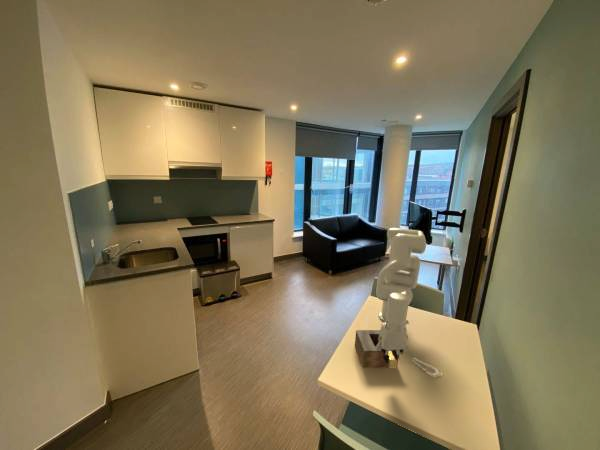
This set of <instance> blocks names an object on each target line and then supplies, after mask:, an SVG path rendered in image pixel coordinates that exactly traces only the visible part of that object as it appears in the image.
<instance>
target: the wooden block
mask: <svg viewBox="0 0 600 450" xmlns="http://www.w3.org/2000/svg"><path fill="white" fill-rule="evenodd" d="M388 355H389V359H388V364H387V365H388V366H389V367H388V368H389V369H397V368H398V366H397V359H396V358H395V357H394V355H393V354H392V352H391V351H389V353H388Z"/></svg>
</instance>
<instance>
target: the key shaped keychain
mask: <svg viewBox="0 0 600 450" xmlns="http://www.w3.org/2000/svg"><path fill="white" fill-rule="evenodd" d="M411 362H413V363H414V364H415V365H417V366H418V367H419V368H421V370H422V371H424V372H426V374H427V375H429V376H431V377H432V378H438V377H442V376H443V373H442V372H441V371H439V369H438V368H436V367H435V366H433V365H430V364H428V363H426V362H425V361H422V360H420V359H418V358H417V357H412V358H411ZM422 365H423V366H424V367H426V368H428V369H430V370H432V371H434V372H433V373H432V372H430V371H427V369H426V368H424V367H423V366H422Z"/></svg>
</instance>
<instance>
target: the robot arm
mask: <svg viewBox="0 0 600 450" xmlns="http://www.w3.org/2000/svg"><path fill="white" fill-rule="evenodd" d="M386 236H387V239H388V242H389V244H390V250H389V256H388V257H389V258H388V263H387V264H386V265H385V266H383V267H382V269H381V270H380V271H379V273H378V275H377V276H378V277H377V282H376V290H375V291H376V293H375V295H376V297H377V299H378V300H380V301H382V308H381V311H380V312H379V313H378V318H379V319H380V320H381V321H382V325H381V327H380V329H379V330H380V333H379V339H378V341H379V342H378V344H377V345H376V348H377V349H378V350H381V351H382V352H383V353H384V354H383V359H384V360H385V362H386V364H388V359H389V355H388V353H389V350H393V351H392V354H393V355H394V357H395V358H396V359H398V355H399V356H400V355H401V352H402V351H403V352H404V351H405V350H407V349H408V345H407V339H408V334H407V327H406V325H408V324H409V320H407V316H408V311H409V310H408V309H409V306H410V303H412V302H413V301H412V300H413V297H414V296H413V295H414V294H413V291H412V289H413V290H414V289H415V288H416V287H417V284H418V279H419V273H420V269H421V268H420V267H421V260H420V257H419V256H417V255H414V254H424V253H425V251H426V247H427V240H426V236H425V234H424V231H422V230H419V229H407V228H399V227H389V228H388V229H387V232H386ZM403 352H402V353H403ZM398 360H399V359H398Z"/></svg>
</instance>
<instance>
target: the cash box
mask: <svg viewBox="0 0 600 450" xmlns="http://www.w3.org/2000/svg"><path fill="white" fill-rule="evenodd" d="M379 333H380V329H356V330H355V340H354V347H355V350H356V352H357V355H358V359H359V361H360V365H361V366H362V368H363V369H366V368H367V369H369V368H370V369H371V368H375V369H376V368H379V369H380V368H381V369H382V368H384V369H385V368H389V366H388V365H387V364H386V362H385V360H384V359H383V354H384V353H383V352H382V351H381V350H378V349H377V348H376V345H377V344H378V342H379V341H378V339H379ZM389 351H391V352H392V351H393V350H389ZM399 358H400V355H398V359H397V367H398V364H399V360H400V359H399Z"/></svg>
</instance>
